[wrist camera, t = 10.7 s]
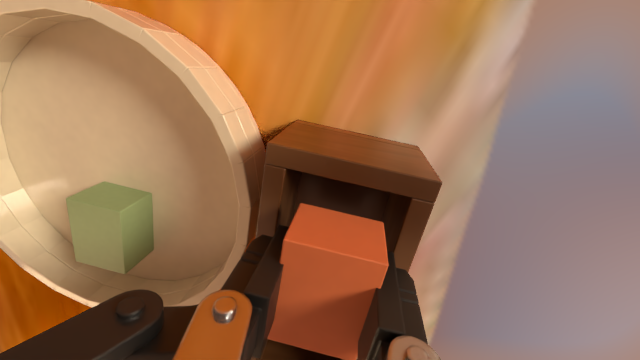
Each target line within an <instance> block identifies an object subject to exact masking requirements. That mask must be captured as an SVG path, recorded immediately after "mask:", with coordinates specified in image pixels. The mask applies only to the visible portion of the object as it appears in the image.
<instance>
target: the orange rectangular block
mask: <svg viewBox="0 0 640 360" xmlns="http://www.w3.org/2000/svg"><path fill="white" fill-rule="evenodd" d="M280 264H283V265H284V266H283V272H282V277H281V283H280V289H279V295H278V300H277V306H276V312H275V318H274V321H273V324H272V327H271V330H270V333H269V336H268V338H267V339H269V340H273V341H277V342H281V343H284V344H288V345H292V346H296V347H299V348H303V349H307V350H310V351H314V352H318V353H322V354H325V355H329V356H333V357H337V358H340V359H344V360H356V359H357V356H358V340H359V337H360V334H361V331H362V328H363V325H364V322H365V320H366V317H367V314H368V311H369V308H370V305H371V302H372V299H373V296H374V293H375V290H376V288H379V289H381V286H382V284H383V281H384V278H385V275H386V272H387V269H388V266H389V264H388V255H387V247H386V238H385V230H384V223H383V222H380V221H376V220H372V219H367V218H363V217H359V216H355V215H350V214H346V213H342V212H338V211H334V210H329V209H325V208H321V207H317V206H312V205H308V204H304V203H300V205H299V207H298V209H297V211H296V213H295V215H294V218H293V220H292V222H291V224H290V226H289V228H288V230H287V232H286V235H285V237H284V239H283V243H282V250H281V256H280Z"/></svg>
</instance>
